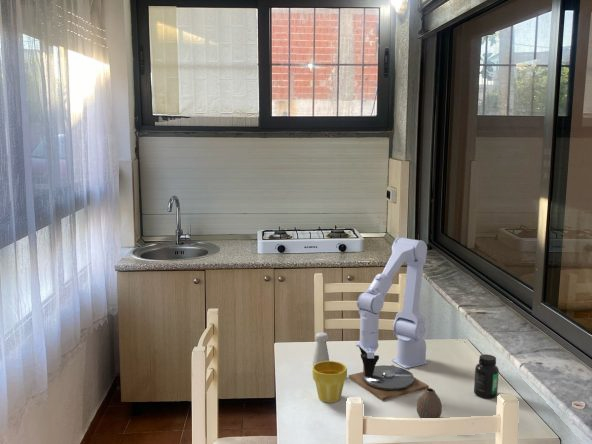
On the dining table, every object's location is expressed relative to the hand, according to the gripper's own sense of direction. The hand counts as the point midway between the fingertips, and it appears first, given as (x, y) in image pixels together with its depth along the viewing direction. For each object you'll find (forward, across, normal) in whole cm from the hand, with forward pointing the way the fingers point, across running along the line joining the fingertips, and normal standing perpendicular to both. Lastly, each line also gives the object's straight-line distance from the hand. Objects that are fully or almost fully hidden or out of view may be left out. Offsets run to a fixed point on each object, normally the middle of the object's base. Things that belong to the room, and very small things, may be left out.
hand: (367, 371), depth 190 cm
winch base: (+4, 0, +6) cm, 8 cm away
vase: (+4, +23, +15) cm, 28 cm away
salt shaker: (+4, -9, -15) cm, 17 cm away
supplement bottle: (+4, +6, +36) cm, 36 cm away
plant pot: (+4, +11, -12) cm, 17 cm away
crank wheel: (+2, 0, +6) cm, 7 cm away
